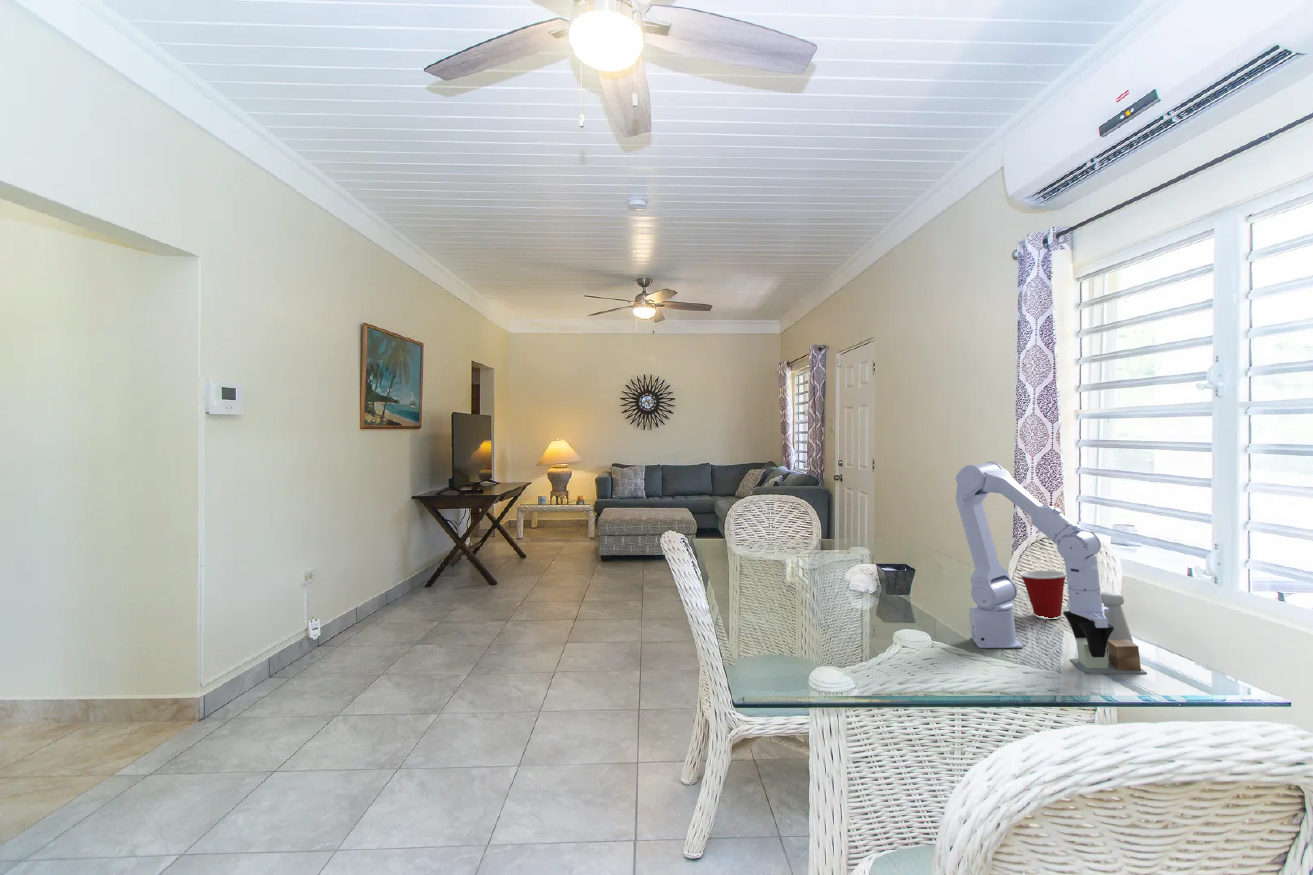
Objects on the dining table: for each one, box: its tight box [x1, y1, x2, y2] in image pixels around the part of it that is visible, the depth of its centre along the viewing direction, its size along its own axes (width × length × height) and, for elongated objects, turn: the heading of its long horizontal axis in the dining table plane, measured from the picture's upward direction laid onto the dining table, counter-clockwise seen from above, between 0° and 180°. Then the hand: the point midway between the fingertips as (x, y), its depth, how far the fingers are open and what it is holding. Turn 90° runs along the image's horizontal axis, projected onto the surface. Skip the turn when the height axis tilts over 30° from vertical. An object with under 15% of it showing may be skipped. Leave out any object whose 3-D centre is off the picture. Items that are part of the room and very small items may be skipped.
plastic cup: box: [1019, 570, 1067, 618], centre depth 159 cm, size 11×11×12 cm
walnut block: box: [1107, 640, 1142, 671], centre depth 124 cm, size 4×4×5 cm
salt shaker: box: [1101, 591, 1134, 651], centre depth 133 cm, size 6×6×13 cm
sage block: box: [1075, 638, 1108, 668], centre depth 127 cm, size 4×4×5 cm
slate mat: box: [1069, 658, 1148, 675], centre depth 125 cm, size 11×8×1 cm
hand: (1090, 650), depth 127 cm, fingers open, 6 cm apart
